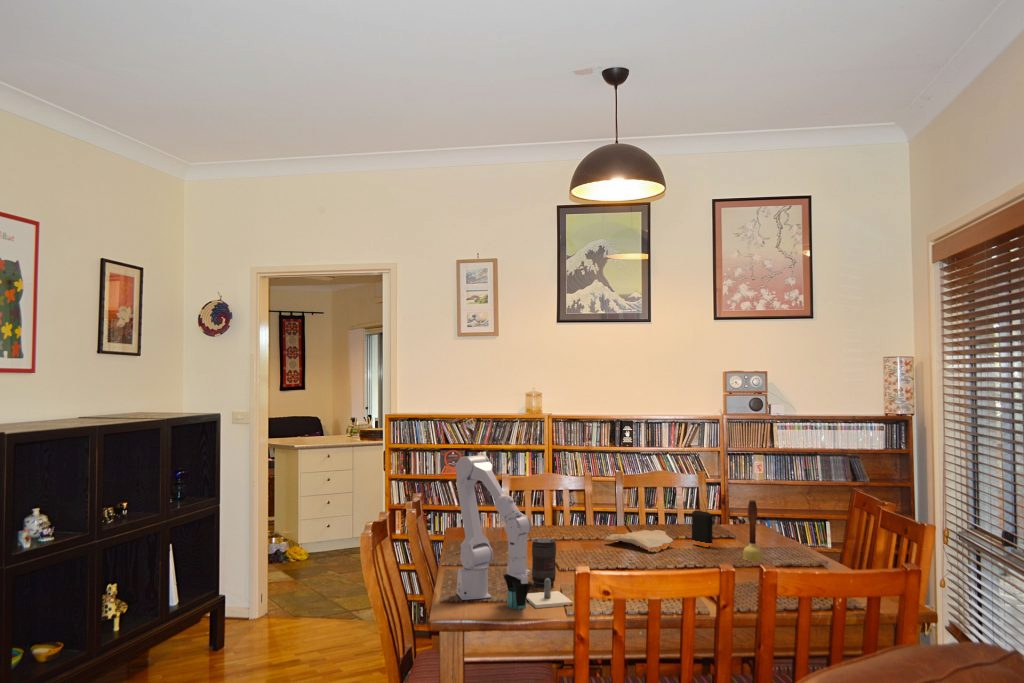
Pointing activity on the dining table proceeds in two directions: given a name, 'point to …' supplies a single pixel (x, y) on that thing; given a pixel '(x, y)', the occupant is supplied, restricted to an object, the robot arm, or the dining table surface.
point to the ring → (513, 600)
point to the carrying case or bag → (702, 526)
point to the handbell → (752, 535)
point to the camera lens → (543, 561)
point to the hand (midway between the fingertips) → (516, 601)
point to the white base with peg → (547, 597)
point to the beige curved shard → (643, 538)
